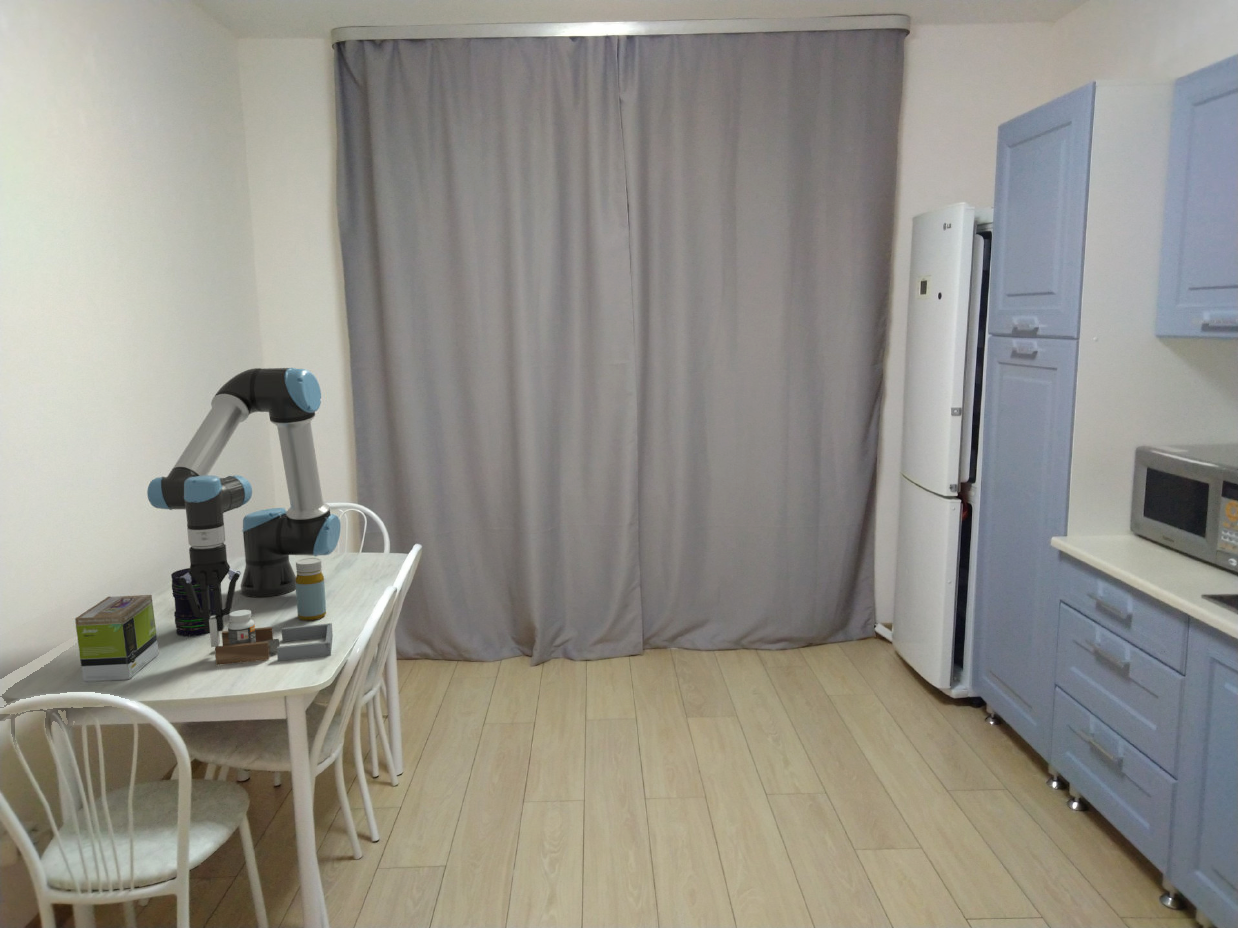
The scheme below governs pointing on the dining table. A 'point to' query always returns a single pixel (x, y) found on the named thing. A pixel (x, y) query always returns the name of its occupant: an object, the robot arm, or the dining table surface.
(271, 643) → the grey square block
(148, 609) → the tea box
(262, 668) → the dining table surface
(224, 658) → the slot
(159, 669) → the dining table surface
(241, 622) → the pill bottle
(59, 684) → the dining table surface
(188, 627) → the dark blue canister
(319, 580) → the bottle
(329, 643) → the frame
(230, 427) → the robot arm
